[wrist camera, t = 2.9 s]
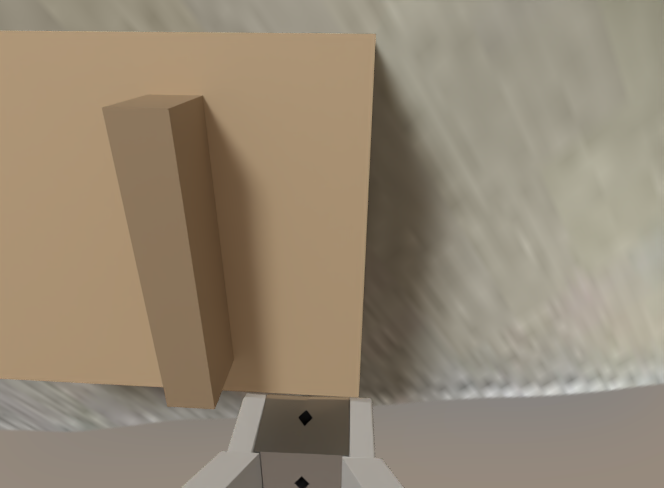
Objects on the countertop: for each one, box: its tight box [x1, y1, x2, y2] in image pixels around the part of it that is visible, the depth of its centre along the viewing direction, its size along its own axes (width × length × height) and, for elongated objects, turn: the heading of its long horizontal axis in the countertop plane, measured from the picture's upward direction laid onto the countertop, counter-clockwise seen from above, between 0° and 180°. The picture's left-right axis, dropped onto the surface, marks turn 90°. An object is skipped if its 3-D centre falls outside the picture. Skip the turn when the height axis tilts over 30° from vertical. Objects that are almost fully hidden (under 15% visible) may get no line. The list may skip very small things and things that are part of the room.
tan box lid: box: [0, 31, 376, 409], centre depth 17 cm, size 22×16×4 cm
